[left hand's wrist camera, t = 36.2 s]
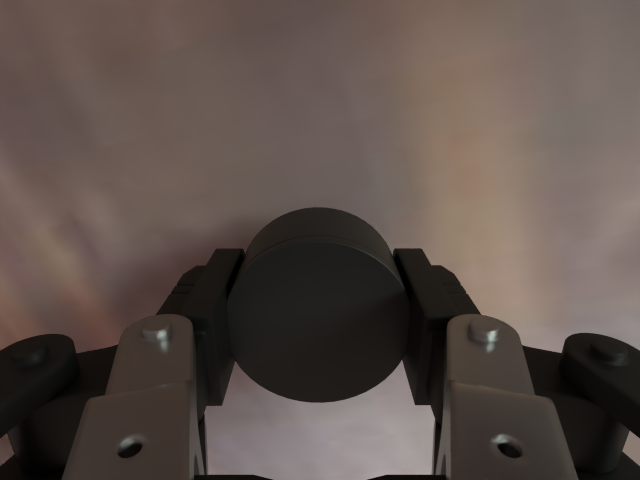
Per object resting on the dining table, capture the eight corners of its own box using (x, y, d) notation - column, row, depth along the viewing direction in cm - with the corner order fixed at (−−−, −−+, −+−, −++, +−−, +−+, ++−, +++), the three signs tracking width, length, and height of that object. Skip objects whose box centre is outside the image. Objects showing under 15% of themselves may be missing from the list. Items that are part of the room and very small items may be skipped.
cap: (394, 341, 13) (410, 399, 10) (250, 347, 13) (235, 406, 10) (397, 202, 11) (417, 236, 9) (232, 210, 11) (210, 245, 9)
